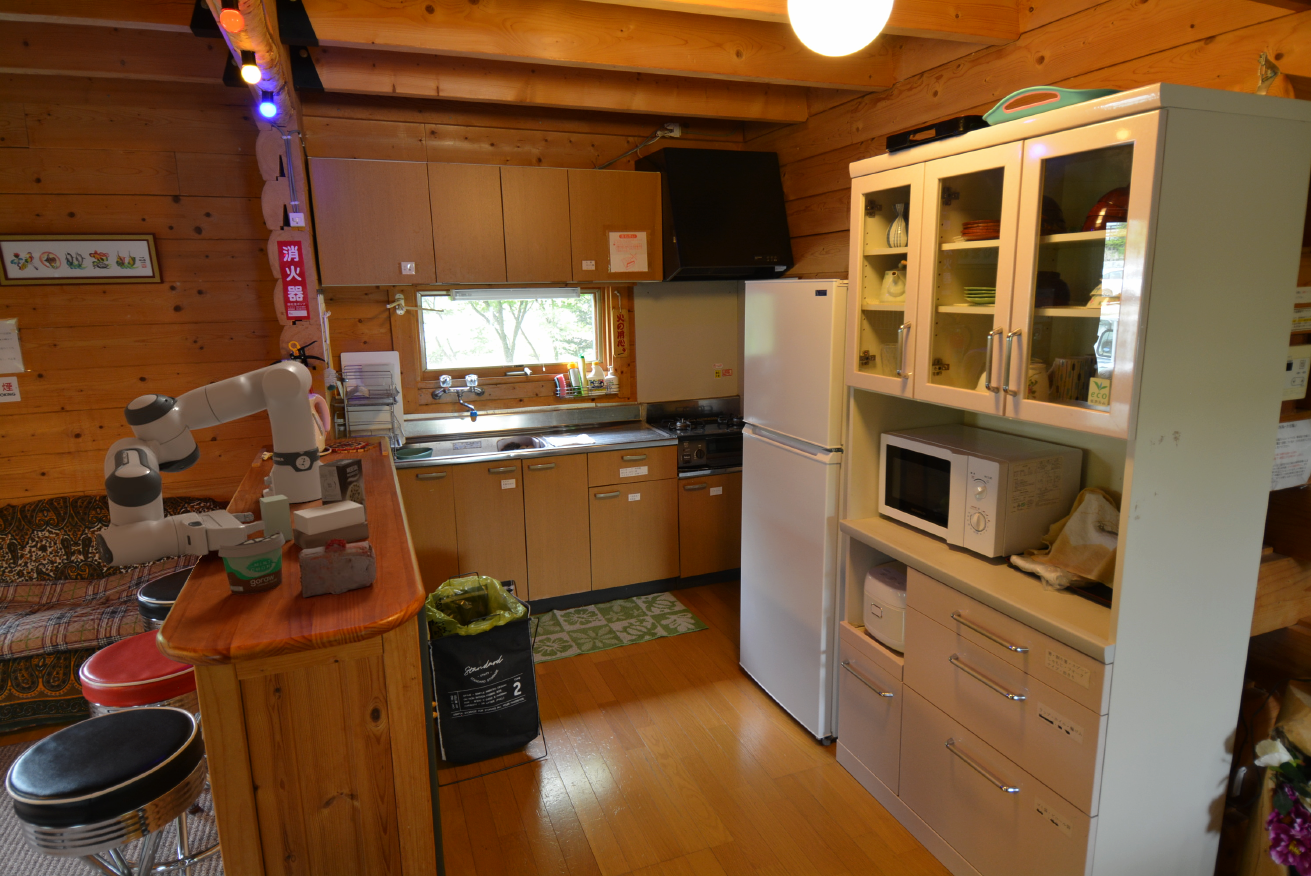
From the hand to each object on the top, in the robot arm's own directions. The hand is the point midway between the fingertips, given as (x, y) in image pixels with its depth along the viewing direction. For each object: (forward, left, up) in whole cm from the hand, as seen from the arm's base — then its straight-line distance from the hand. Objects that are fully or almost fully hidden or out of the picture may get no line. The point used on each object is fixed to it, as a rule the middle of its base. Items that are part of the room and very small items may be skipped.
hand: (258, 520), depth 173 cm
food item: (+42, +4, -6) cm, 43 cm away
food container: (+32, -7, -6) cm, 33 cm away
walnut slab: (+10, +13, -6) cm, 17 cm away
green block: (0, +4, -6) cm, 7 cm away
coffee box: (-1, +20, -6) cm, 21 cm away
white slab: (+10, +13, -2) cm, 16 cm away
